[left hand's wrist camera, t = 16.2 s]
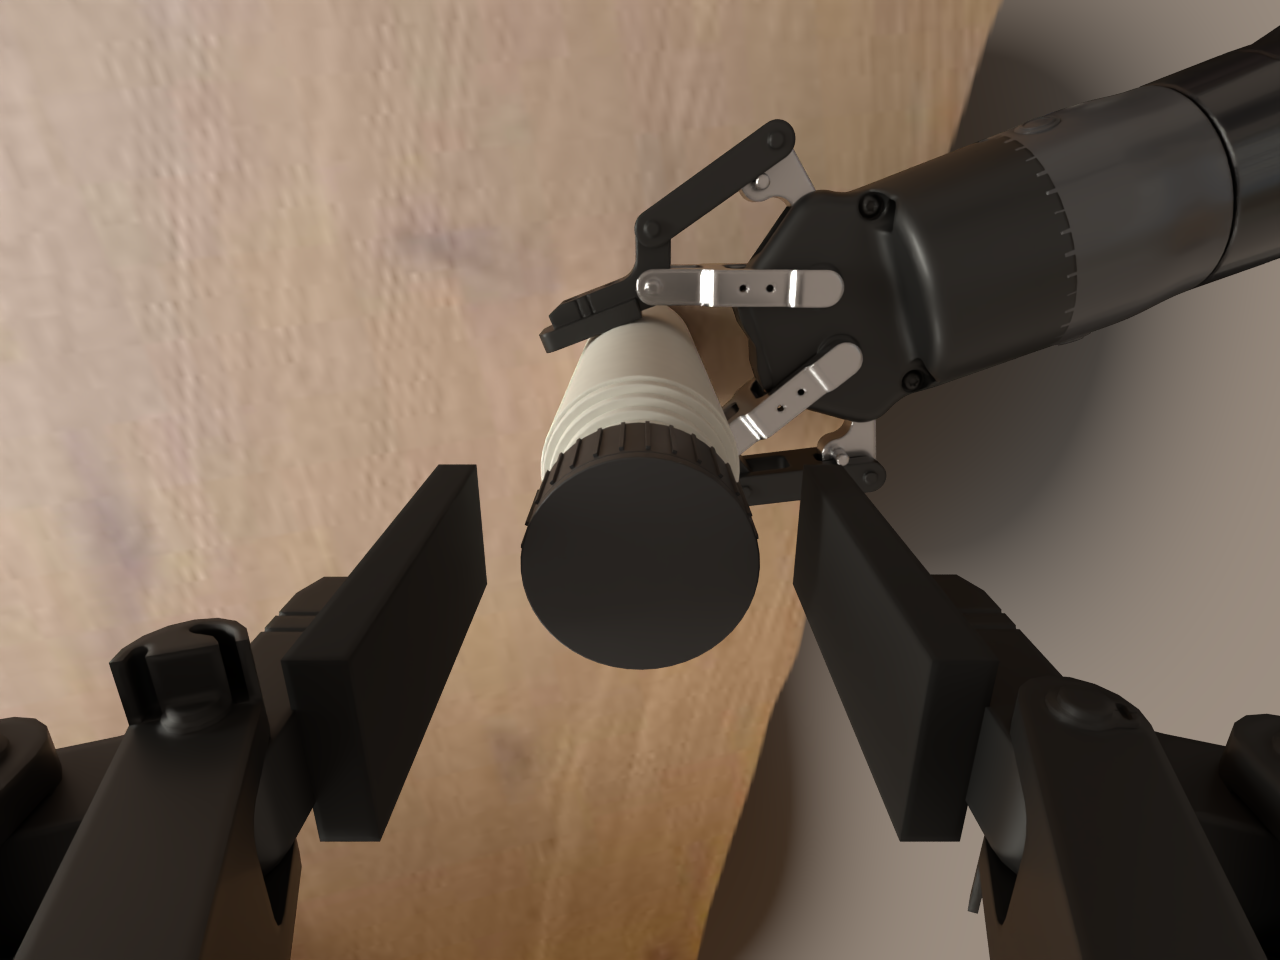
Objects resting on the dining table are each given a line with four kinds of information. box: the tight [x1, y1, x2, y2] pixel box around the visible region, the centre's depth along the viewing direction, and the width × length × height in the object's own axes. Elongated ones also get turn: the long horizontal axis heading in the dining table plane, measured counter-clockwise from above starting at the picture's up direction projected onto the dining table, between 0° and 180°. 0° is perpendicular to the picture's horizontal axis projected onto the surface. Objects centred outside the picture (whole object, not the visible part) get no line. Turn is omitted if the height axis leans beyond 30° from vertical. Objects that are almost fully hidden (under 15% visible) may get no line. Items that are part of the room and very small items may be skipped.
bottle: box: [541, 305, 740, 482], centre depth 23 cm, size 5×5×21 cm
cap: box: [521, 421, 760, 670], centre depth 13 cm, size 4×4×2 cm
